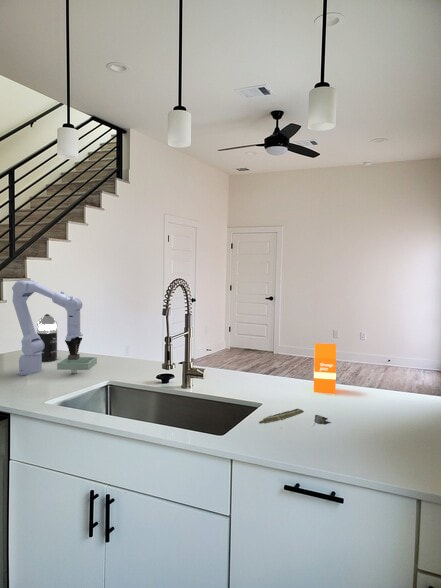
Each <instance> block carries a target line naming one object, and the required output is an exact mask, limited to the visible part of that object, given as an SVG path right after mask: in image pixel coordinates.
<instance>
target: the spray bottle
mask: <svg viewBox="0 0 441 588" xmlns="http://www.w3.org/2000/svg"><path fill="white" fill-rule="evenodd" d="M36 328H37V329H36V333H37V334H38V335H39V336H40V338H41V340H42V341H43V342H44V349H43V350H42V362H53V361H56V360H57V359H58V323H57V320H56V319H55V318H54V317H53V316H51V315H50V314H49V313H46V314H44V315H43V316H42V317H41V318H40V319H38V321H37V324H36Z"/></svg>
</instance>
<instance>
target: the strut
mask: <svg viewBox="0 0 441 588" xmlns="http://www.w3.org/2000/svg"><path fill="white" fill-rule="evenodd" d="M67 357H68V360H77V359H79V358H80V357H81V355H80V353H77V345H76V352H75V355H70V354H68V355H67Z"/></svg>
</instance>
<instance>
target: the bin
mask: <svg viewBox="0 0 441 588" xmlns="http://www.w3.org/2000/svg"><path fill="white" fill-rule="evenodd" d="M97 361H98V357H97V356H80V358H79V359H77V360H68V356H66V357H65V358H63V359H62V360H60V361H58V362H56V369H57V370H70V371H71V370H72V369H76V370H84V371H85V370H90V369H91V368H93V366H95V365H97V363H98V362H97Z"/></svg>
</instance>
